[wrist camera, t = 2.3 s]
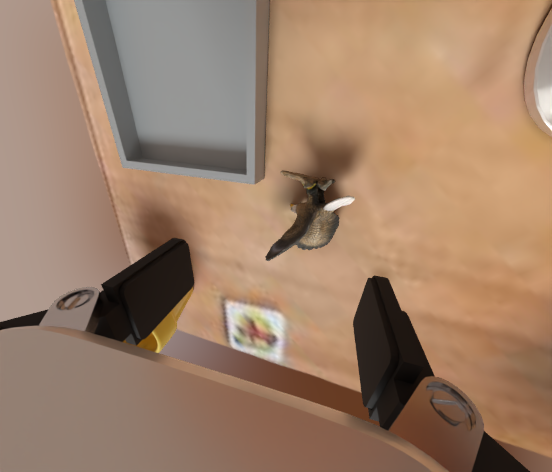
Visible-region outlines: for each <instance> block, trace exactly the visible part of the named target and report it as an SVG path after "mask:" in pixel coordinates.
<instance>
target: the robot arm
mask: <svg viewBox="0 0 552 472" xmlns="http://www.w3.org/2000/svg"><path fill="white" fill-rule="evenodd" d="M524 96H525V102H526V105H527V108H528V111H529V114H530V116H531V118H532V119H533V120H534V122H535V123H536V125H537V126H538V127H539V128H540V129H541V130H542V131H544V132H545V133H546V134H548V135H549V136H551V137H552V8H551V10H550V12H549V14H548V16H547V18H546V19H545V21H544V23H543V25H542V27H541V29H540V30H539V32H538V34H537V36H536V39H535V42H534V44H533V47H532V50H531V52H530V55H529V58H528V61H527V67H526V72H525V78H524ZM101 285H102V287H103V289H104V290H103V291H102V292H99V290H98V289H97V288H94V287H86V288H79V289H76V290H73V291H71V292H68V293H66V294H64V295H62V296H61V297H59V298H58V299H57V300H55V301H54V303H53V304H52V305H51V307H50V308H49V309H48V310H45V311H41V312H37V313H33V314H30V315H26V316H22V317H18V318H14V319H11V320H7V321H3V322H0V472H530V471H528V469H526V468H525V467H524V466H523V465H522V464H521V463H520V462H518V461H517V460H516V459H515V458H514V457H513V456H512V455H510V454H509V453H508V452H507V451H506V450H505V449H504V448H503V447H502V446H500V445H499V444H498V443H497V442H496V441H495V440H494V439H493V438H491V437H490V436H489V435H488V434H487V433H486V432H485V431H484V423H483V420H482V417H481V414H480V413H479V411H478V409H477V408H476V406H475V405H474V403H473V402H472V401H471V400H470V399H469V398H468V396H467V395H466V394H465V393H463V392H462V391H461V390H460V389H459V388H458V387H456V386H455V385H453V384H452V383H450V382H449V381H446V380H444V379H442V378H439V377H435V376H434V374H433V372H432V369H431V367H430V365H429V362H428V360H427V358H426V356H425V353H424V351H423V349H422V346H421V344H420V342H419V340H418V337H417V335H416V333H415V330H414V328H413V326H412V324H411V321H410V319H409V317H408V315H407V313H406V312H404V311H401V308H400V306H399V304H398V301H397V299H396V296H395V294H394V291H393V289H392V286H391V284H390V282H389V279H388V278H385V277H379V276H373V277H372V278H368V280H367V282H366V285H365V288H364V291H363V294H362V297H361V300H360V302H359V305H358V308H357V311H356V314H355V317H354V321H353V327H354V335H355V343H356V351H357V359H358V367H359V375H360V383H361V392H362V399H363V404H364V406H365V407H367V408H368V410H369V416H370V417H369V418H370V419H372V420H376V421H379V423H380V427H379V426H377V425H375V424H372V423H370V422H367V421H365V420H362V419H359V418H356V417H354V416H352V415H349V414H346V413H343V412H340V411H337V410H334V409H332V408H329V407H326V406H323V405H319V404H317V403H314V402H311V401H308V400H305V399H302V398H299V397H296V396H292V395H289V394H286V393H283V392H280V391H277V390H274V389H271V388H267V387H264V386H261V385H258V384H255V383H252V382H249V381H245V380H242V379H239V378H236V377H233V376H230V375H226V374H223V373H220V372H217V371H214V370H211V369H207V368H204V367H201V366H198V365H194V364H191V363H188V362H185V361H182V360H179V359H175V358H172V357H169V356H166V355H163V354H159V353H156V352H153V351H149V350H146V349H143V348H140V347H136V346H137V345H138V344H139V343H140V342H141V341H142V340H143V339H145V338H147V337H148V336H149V335H150V334H151V333H152V331H153V330H154V329H155V328H156V327H157V326H158V325H159V324H160V323H161V322H162V320H163V319H164V318H165V317H166V316H167V315H168V314H169V313H170V312H171V311H172V309H173V308H174V307H175V306H176V305H177V304H178V303H179V302H180V301H181V300H182V299H183V297H184V296H185V295H186V294H187V293H188V292H189V291H190V290H191V289H192V287H193V285H194V277H193V270H192V264H191V258H190V252H189V246H188V244H187V243H186V241H185V240H182V239H177V238H173V239H171V240H169V241H168V242H166V243H165V244H163V245H162V246H160V247H159V248H157V249H155V250H154V251H152V252H151V253H149V254H148V255H146V256H145V257H143V258H141V259H140V260H138V261H137V262H135V263H134V264H132V265H131V266H129V267H128V268H126V269H124V270H123V271H121V272H120V273H118V274H117V275H115V276H114V277H112V278H110V279H109V280H107V281H106V282H104V283H103V284H101ZM124 340H126V342H127V343H129V344H127V343H123V341H124ZM130 344H132V345H130ZM133 345H135V346H133Z"/></svg>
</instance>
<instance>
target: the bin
mask: <svg viewBox="0 0 552 472" xmlns="http://www.w3.org/2000/svg"><path fill="white" fill-rule="evenodd" d="M74 1H75V5H76V8H77V12H78V15H79V19H80V22H81V26H82V29H83V32H84V36H85V39H86V43H87V46H88V50H89V53H90V57H91V60H92V64H93V67H94V70H95V74H96V77H97V81H98V84H99V88H100V91H101V95H102V98H103V101H104V105H105V108H106V112H107V115H108V119H109V122H110V126H111V129H112V132H113V136H114V139H115V143H116V146H117V150H118V153H119V157H120V160H121V163H122V167H123V168H130V169H138V170H145V171H153V172H161V173H169V174H177V175H184V176H192V177H200V178H208V179H216V180H224V181H231V182H239V183H247V184H256V183H258V182H259V181H261V180H262V179H264V170H265V138H266V106H267V74H268V42H269V10H270V0H74Z"/></svg>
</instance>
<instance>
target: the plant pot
mask: <svg viewBox="0 0 552 472" xmlns="http://www.w3.org/2000/svg"><path fill="white" fill-rule="evenodd" d="M192 292H193V287H192V289H191V290H190V291H189V292H188V293H187V294H186V295H185V296H184V297H183V299H182V300H181V301H180V302H179V303H178V304H177V305H176V306H175V307H174V308H173V309H172V311H171V312H170V313H169V314H168V315H167V316H166V317H165V318H164V319H163V320H162V322H161V323H160V324H159V325H158V326H157V327H156V328H155V329H154V330H153V331H152V333H151V334H150V335H149V336H148V337H147V338H145V339H143V340H142V341H141V342H140V343H139V344H138V345H137V346H136V347H140V348H143V349H146V350H149V351H153V352H156V353H159V352H160V351H161V350H162V348H163V347H164V346H165V345H166V343H167V342H168V341H169V339H170V338H171V337H172V335H173V334H174V333H175V331H176V328H177V320H178V318H179V317H180V315H181V313H182V311H183V309H184V307H185V305H186V303H187V302H188V300H189V298H190V296H191V294H192ZM123 343H127V342H126V340H124V341H123ZM127 344H129V343H127ZM130 345H132V344H130ZM133 346H135V345H133Z"/></svg>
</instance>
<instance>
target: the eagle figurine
mask: <svg viewBox="0 0 552 472" xmlns="http://www.w3.org/2000/svg"><path fill="white" fill-rule="evenodd" d="M281 174H282V175H284V176H286V177H288V178H291V179H294V180H299V181H300V182H301V183H302V184H303V185H304V188H307V194H308V200H307V202H306V203H300V204H297V205H293V204H290V206H291V211H292V212H294V213H297V218H296V220H295V222H294V224H293V225H292V227H291V228H290V229H289V230H287V231H286V232H285V233H284V235H283V236H282V237H281V239H279V240H278V241H277V242H276V243H274V244H273V245H272V247H271V249H270V251H269V252H268V254H267V256H266V260H267V261H270V260H271V259H273V258H275V257H276V256H278V255H280V254H281V253H283V252H285V251H286V250H288V249H289V248H291V247H292V246H294V245H297V247H298V248H302V249H303V250H305V249H308V250H311V249H313V248H315V249H317V248H318V247H320V248H321V247H323V246H325V245H327V244H328V243H329V242H330V240H331V239H332V238H333V235H334V233H335V232H336V229H337V228H338V226H339V217H338V215H336V214H335V213H333V211H334V210H336V209H337V208H339V207H341V206H345V205H349V204H351V203H352V202H353V201H354V200H355V198H354V197H352V196H346V197H342V198H338V199H335V200H333V201H331V202H329V203H325V198H324V191H323V190H326V189H327V187H328V186H330V185H331V184H332V183H334V182H335V180H334V179H330V180H325V179H326V178H325V177H322V178H321V179H319V178H316V177H310V176H307V175H303V174H299V173H293V172H289V171H281Z"/></svg>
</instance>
